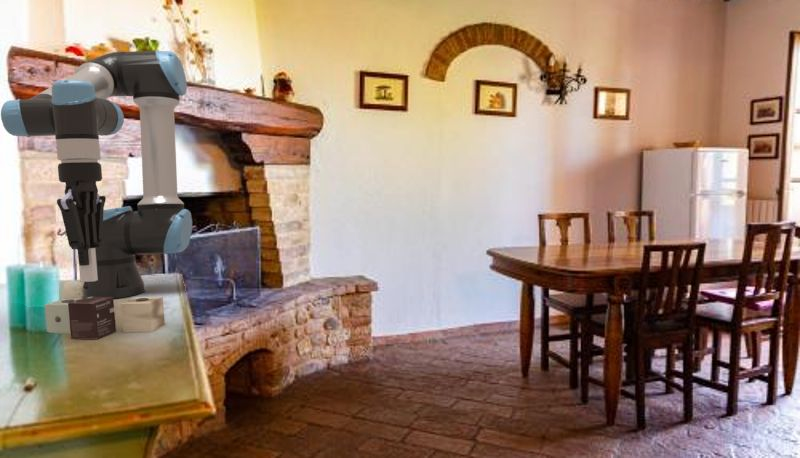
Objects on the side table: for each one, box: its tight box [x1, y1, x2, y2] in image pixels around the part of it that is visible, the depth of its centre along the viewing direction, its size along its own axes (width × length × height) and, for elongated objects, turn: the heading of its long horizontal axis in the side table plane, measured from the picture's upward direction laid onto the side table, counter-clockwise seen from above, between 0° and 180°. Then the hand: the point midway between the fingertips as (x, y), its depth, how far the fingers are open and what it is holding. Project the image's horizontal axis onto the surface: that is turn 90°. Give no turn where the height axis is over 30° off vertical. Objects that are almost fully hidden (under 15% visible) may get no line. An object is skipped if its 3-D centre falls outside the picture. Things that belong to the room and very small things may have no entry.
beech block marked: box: [120, 296, 166, 333], centre depth 125 cm, size 6×6×6 cm
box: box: [68, 297, 117, 340], centre depth 121 cm, size 6×6×7 cm
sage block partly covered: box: [44, 297, 81, 335], centre depth 126 cm, size 6×6×6 cm
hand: (89, 280), depth 120 cm, fingers closed
